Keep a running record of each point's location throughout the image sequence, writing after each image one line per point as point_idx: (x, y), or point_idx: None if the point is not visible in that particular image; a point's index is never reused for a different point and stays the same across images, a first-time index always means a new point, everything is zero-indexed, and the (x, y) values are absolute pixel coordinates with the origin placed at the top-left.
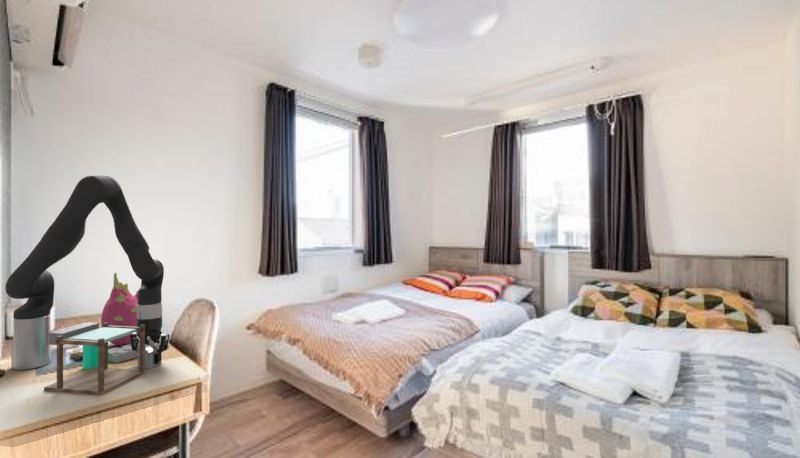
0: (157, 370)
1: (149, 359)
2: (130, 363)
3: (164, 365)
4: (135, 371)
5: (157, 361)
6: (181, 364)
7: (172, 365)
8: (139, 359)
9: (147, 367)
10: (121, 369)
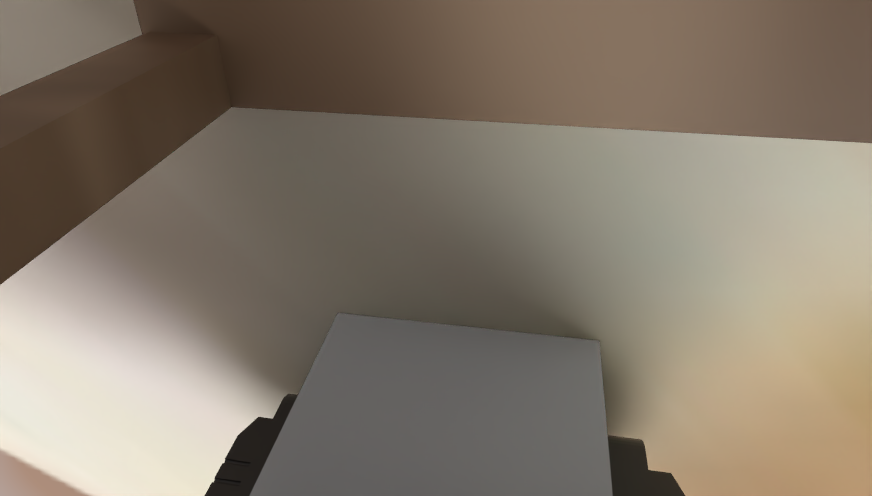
0: (125, 225)
1: (301, 434)
2: (844, 464)
3: (217, 393)
4: (304, 13)
5: (258, 433)
6: (42, 418)
7: (114, 392)
8: (556, 456)
9: (394, 322)
10: (775, 89)
